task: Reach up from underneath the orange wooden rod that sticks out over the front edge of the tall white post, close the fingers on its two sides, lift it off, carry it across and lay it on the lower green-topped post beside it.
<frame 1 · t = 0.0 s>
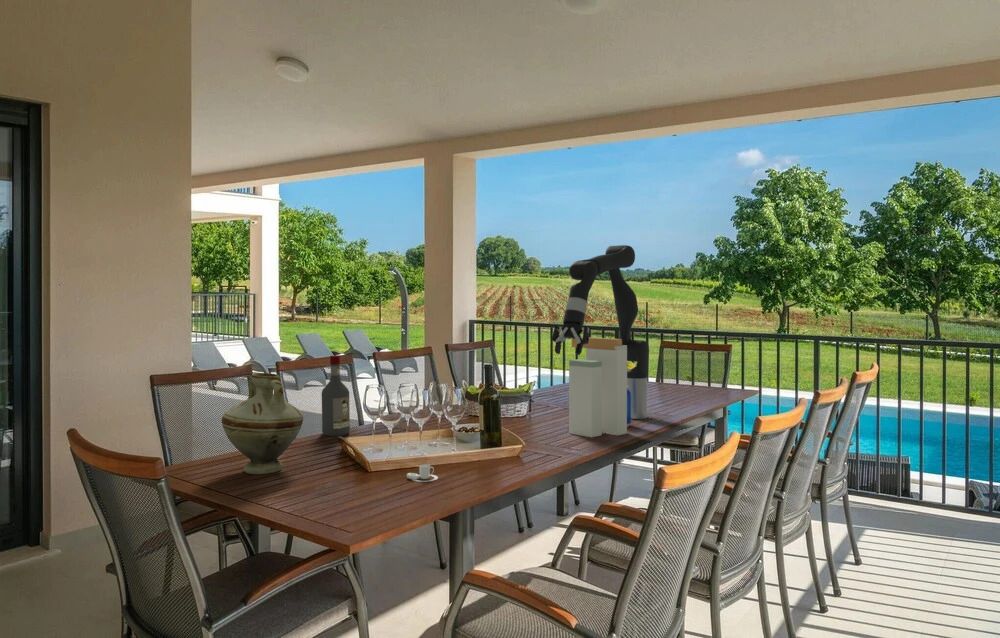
hand: (567, 353, 263), 31 cm above the table, tool tilted 20°, fingers open, 8 cm apart
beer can: (620, 426, 291), on the table
teacup and saucer: (419, 478, 214), on the table
green-topped post: (585, 434, 274), on the table
white post: (606, 431, 279), on the table
amphora: (263, 470, 222), on the table
liquor: (336, 434, 278), on the table
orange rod: (596, 348, 281), point 32 cm above the table, touching white post
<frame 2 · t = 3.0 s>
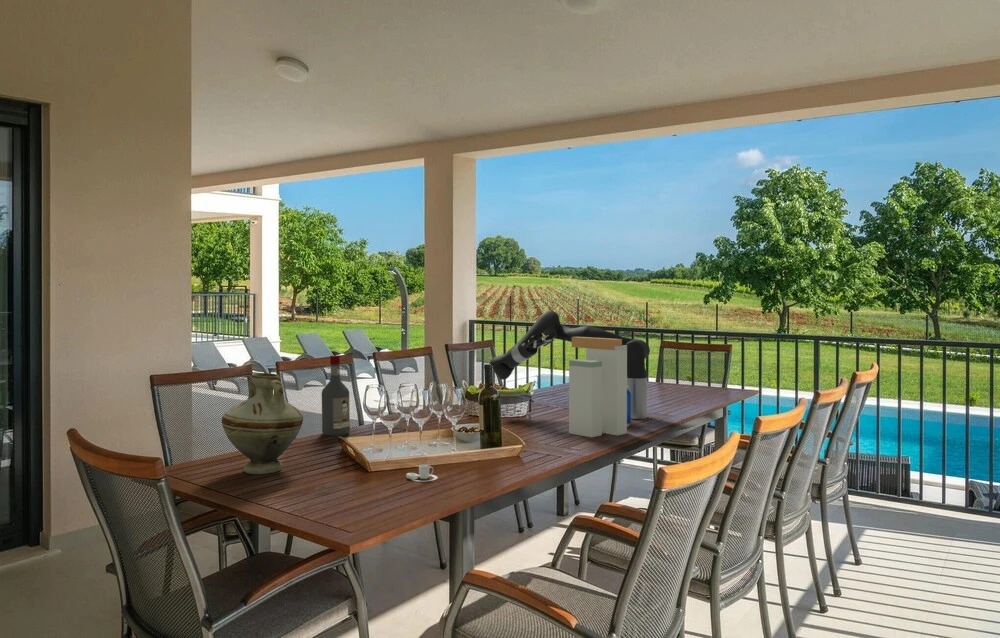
hand: (548, 333, 296), 37 cm above the table, tool pointing upward, fingers open, 8 cm apart
nothing on the table moved.
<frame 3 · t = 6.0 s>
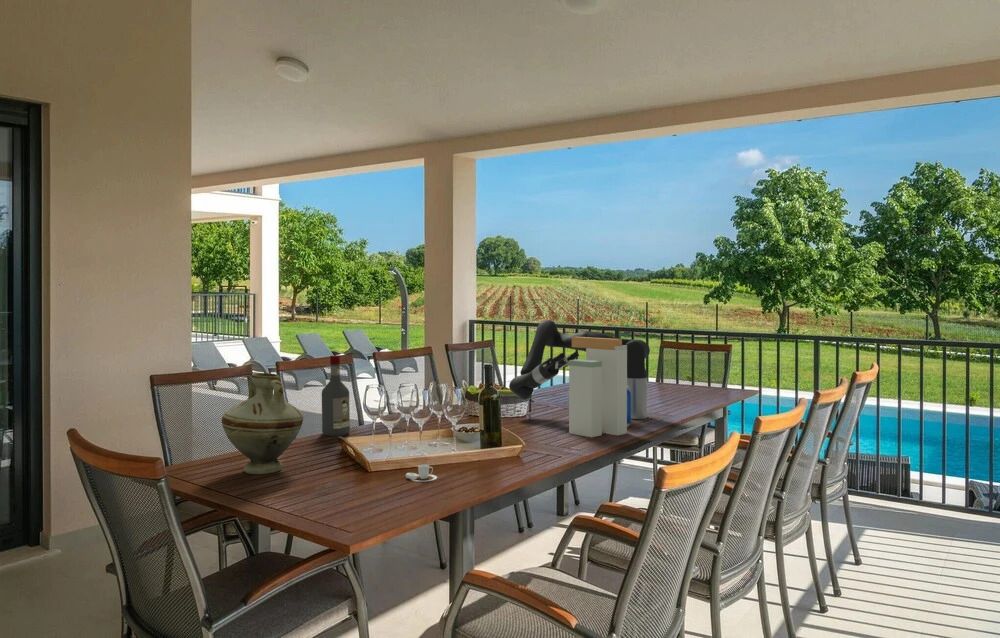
hand: (570, 354, 291), 29 cm above the table, tool pointing upward, fingers open, 8 cm apart
nothing on the table moved.
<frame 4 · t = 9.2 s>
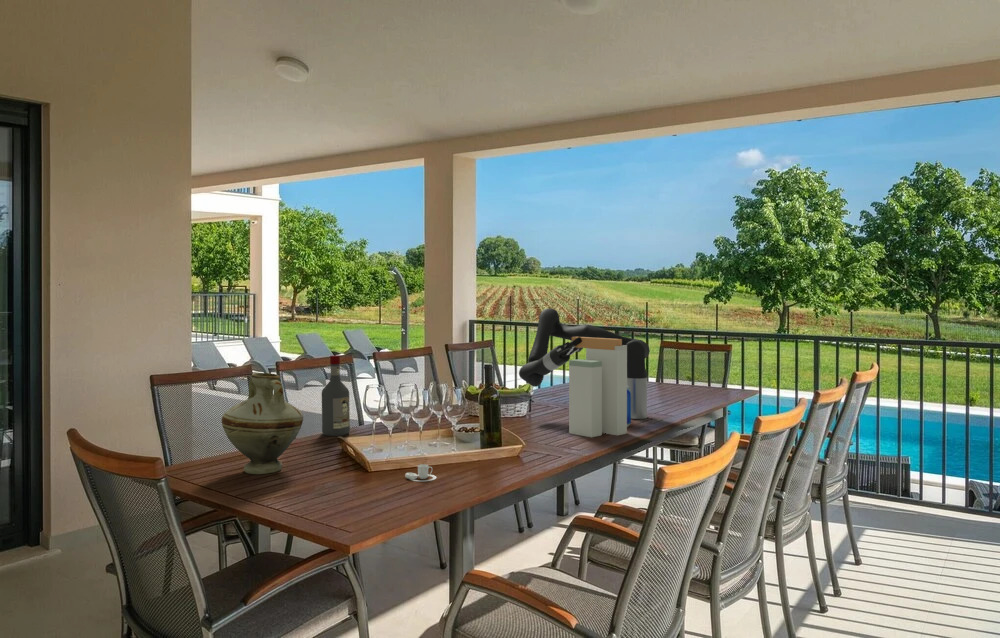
hand: (584, 338, 286), 35 cm above the table, tool pointing upward, fingers closed on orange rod, 3 cm apart
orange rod: (596, 348, 281), point 32 cm above the table, touching gripper, white post
everything else where it was.
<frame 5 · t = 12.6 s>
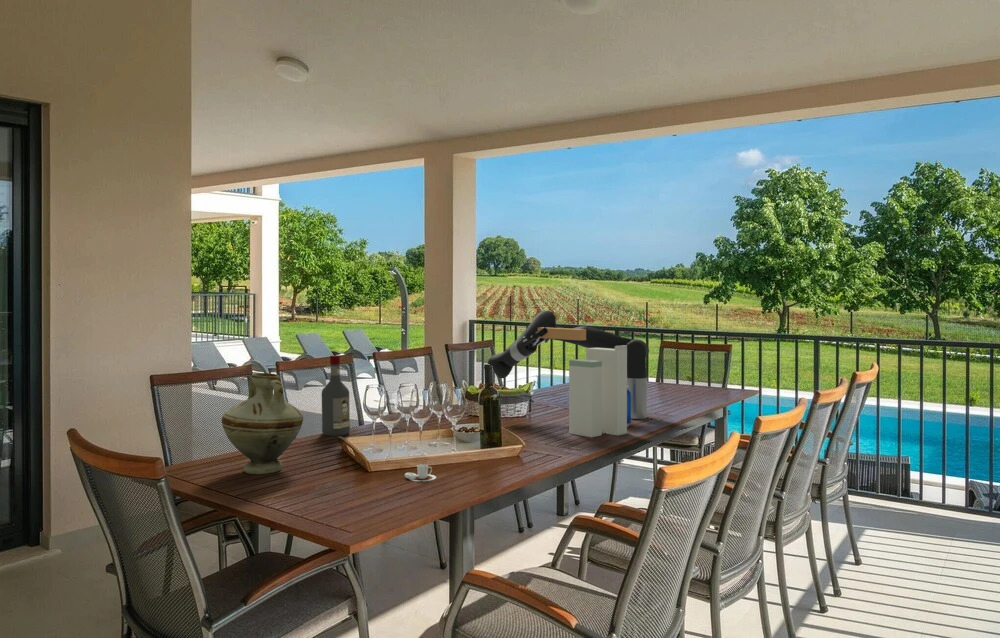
hand: (549, 329, 286), 39 cm above the table, tool pointing upward, fingers closed on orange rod, 3 cm apart
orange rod: (561, 338, 282), point 36 cm above the table, touching gripper
everything else where it was.
when the fingers open (32 cm above the table, at t = 16.4 s): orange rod stays where it is, resting on green-topped post.
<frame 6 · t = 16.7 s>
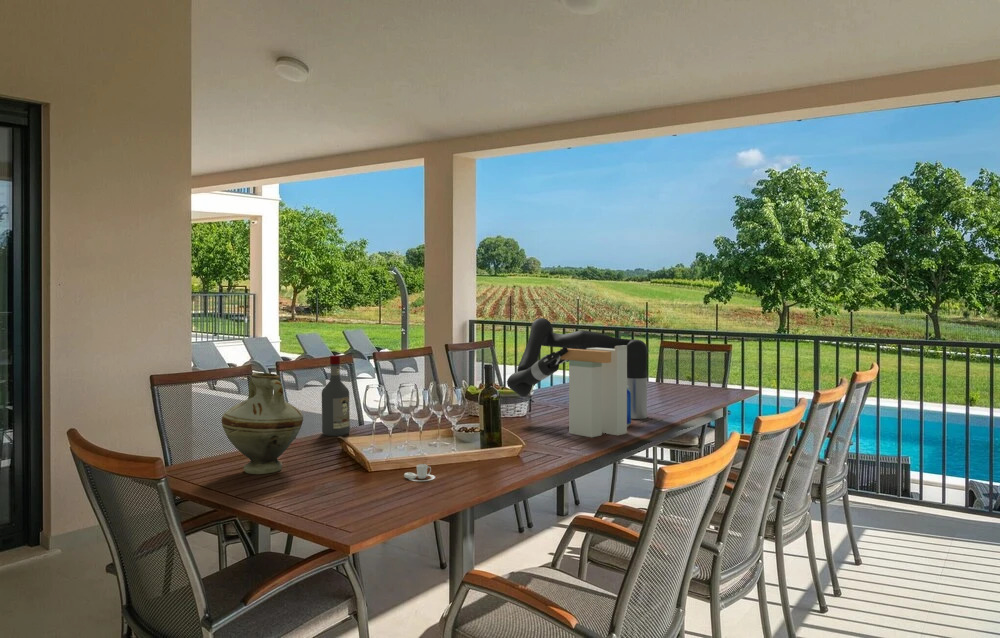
hand: (572, 348, 278), 32 cm above the table, tool pointing upward, fingers open, 6 cm apart
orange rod: (585, 360, 273), point 28 cm above the table, touching green-topped post
everything else where it was.
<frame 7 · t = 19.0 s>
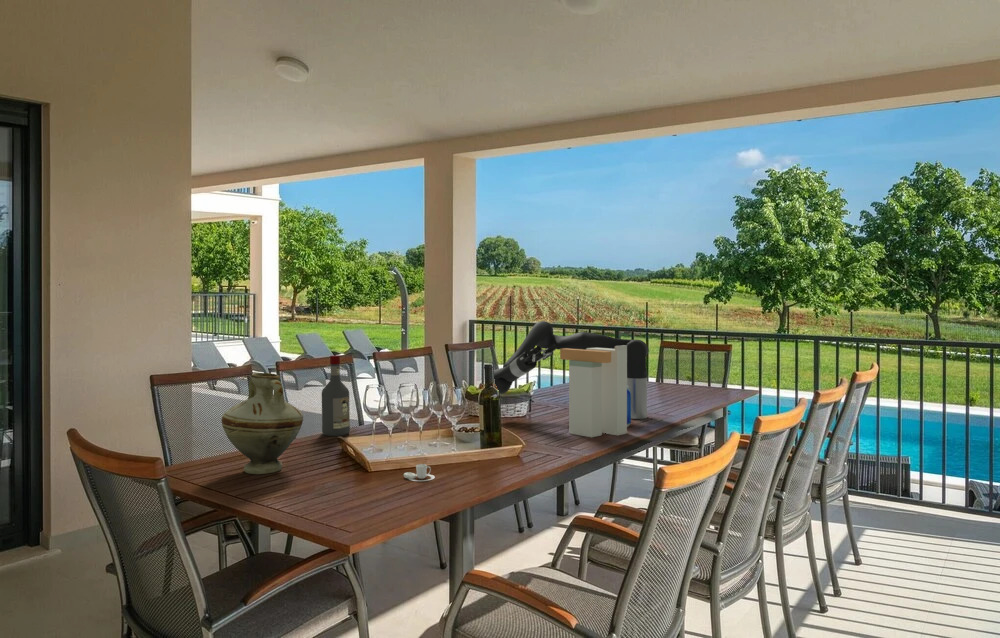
hand: (548, 346, 287), 32 cm above the table, tool pointing upward, fingers open, 8 cm apart
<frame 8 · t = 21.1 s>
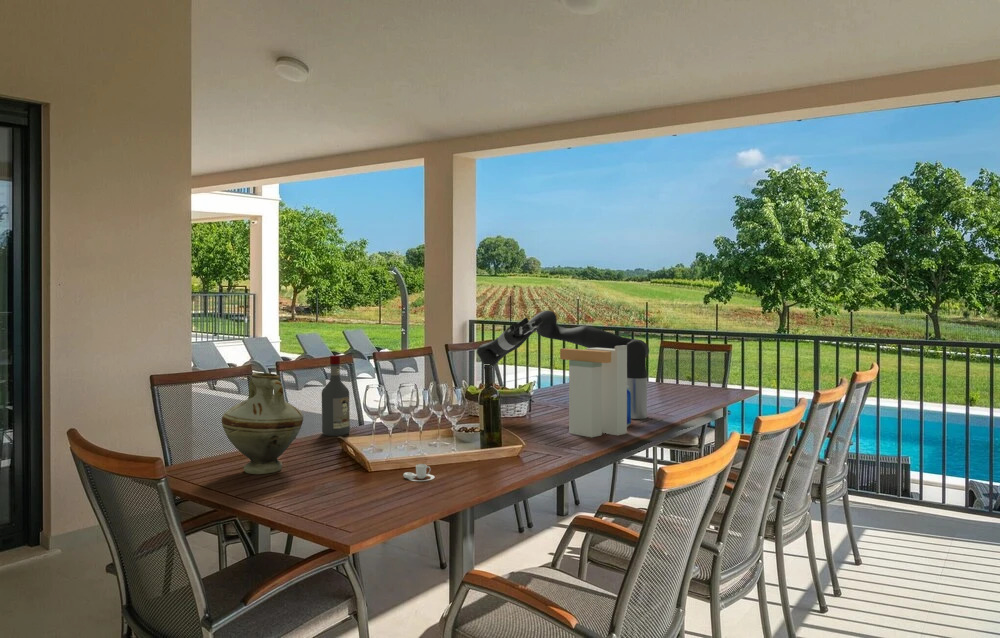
hand: (534, 319, 292), 43 cm above the table, tool pointing upward, fingers open, 8 cm apart
at the end: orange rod inside the target area on the green-topped post (0.1 cm from its centre), point 28.0 cm above the green-topped post's base; the gripper is holding nothing; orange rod tilted 0° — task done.
